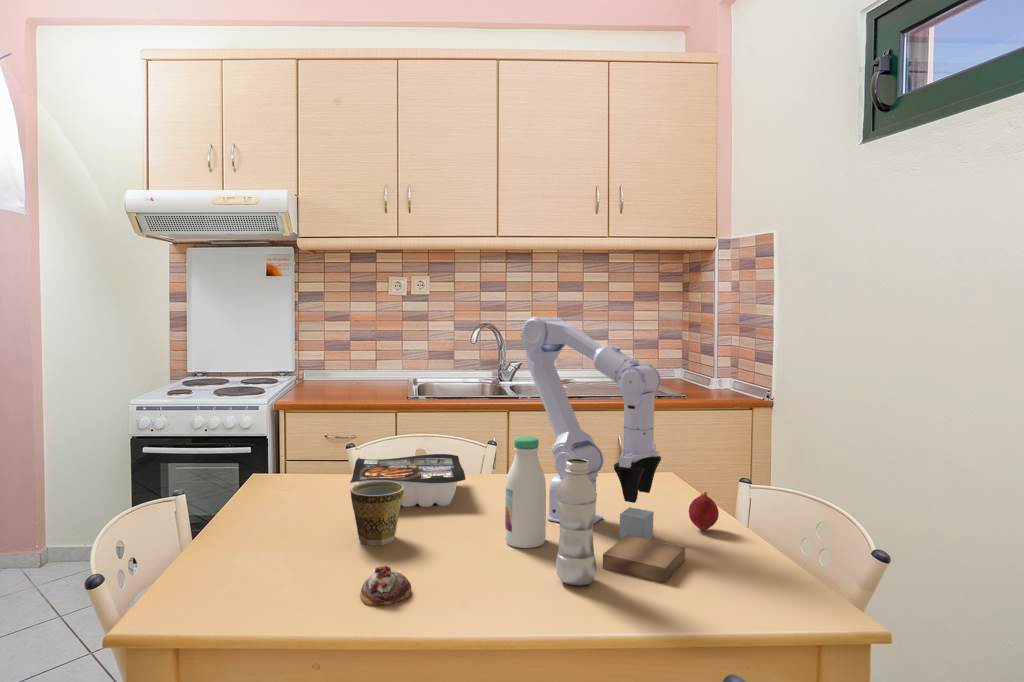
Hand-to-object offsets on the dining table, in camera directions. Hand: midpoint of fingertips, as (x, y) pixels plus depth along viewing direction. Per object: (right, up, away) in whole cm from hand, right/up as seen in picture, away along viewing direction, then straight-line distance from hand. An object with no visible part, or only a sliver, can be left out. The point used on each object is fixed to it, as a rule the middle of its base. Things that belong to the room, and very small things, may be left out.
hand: (637, 496), depth 126 cm
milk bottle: (-22, -8, -3) cm, 24 cm away
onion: (+14, -8, +5) cm, 17 cm away
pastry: (-44, -10, -25) cm, 52 cm away
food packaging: (-49, -7, +27) cm, 56 cm away
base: (-1, -9, -13) cm, 16 cm away
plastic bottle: (-14, -9, -20) cm, 26 cm away
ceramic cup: (-51, -8, -1) cm, 52 cm away
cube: (0, -8, +1) cm, 8 cm away
